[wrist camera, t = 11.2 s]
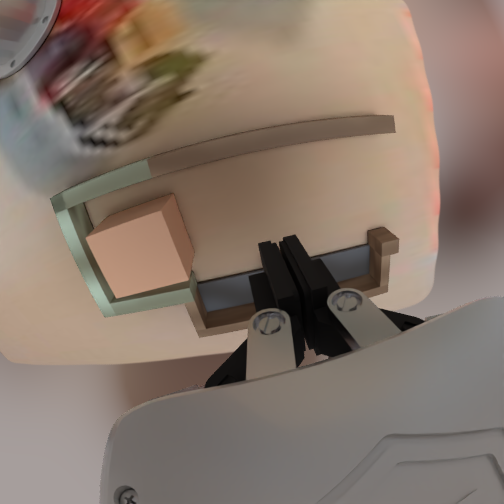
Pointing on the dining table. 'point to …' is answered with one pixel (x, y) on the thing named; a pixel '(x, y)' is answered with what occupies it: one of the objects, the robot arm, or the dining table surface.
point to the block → (143, 247)
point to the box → (238, 286)
